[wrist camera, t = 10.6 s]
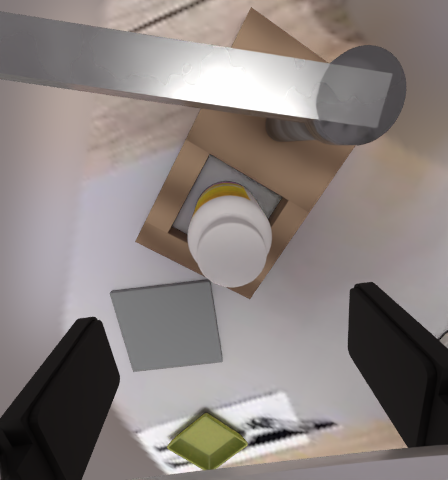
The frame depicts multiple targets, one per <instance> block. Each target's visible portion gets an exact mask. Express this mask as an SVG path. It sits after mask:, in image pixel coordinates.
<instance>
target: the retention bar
mask: <svg viewBox="0 0 448 480" xmlns="http://www.w3.org/2000/svg"><path fill="white" fill-rule="evenodd" d="M0 79H2V80H9V81H17V82H23V83H29V84H36V85H43V86H50V87H57V88H64V89H72V90H78V91H85V92H92V93H99V94H106V95H112V96H119V97H126V98H133V99H140V100H147V101H154V102H161V103H168V104H175V105H182V106H189V107H195V108H202V109H209V110H216V111H223V112H230V113H237V114H244V115H251V116H258V117H265V118H272V119H278V120H285V121H292V122H299V123H305V126H306V128H307V130H308V131H309V133H310V134H311V135H312V136H313V137H314V138H315V139H317V140H318V141H320V142H322V143H324V144H328V145H362V144H366V143H369V142H371V141H374V140H376V139H377V138H379V137H380V136H382V135H383V134H384V133H385V132H387V131H388V130H389V129H390V128H391V126H392V125H393V124H394V123H395V121H396V120H397V118H398V116H399V114H400V112H401V110H402V107H403V105H404V100H405V96H406V78H405V74H404V71H403V68H402V66H401V64H400V62H399V61H398V60H397V58H396V57H395V56H394V55H393V54H392V53H391V52H389V51H387V50H386V49H384V48H381V47H378V46H373V45H364V46H359V47H355V48H352V49H350V50H348V51H346V52H344V53H343V54H341V55H340V56H339V57H337V58H336V59H335V60H333V61H332V62H331V63H323V62H317V61H311V60H304V59H298V58H292V57H285V56H279V55H273V54H266V53H260V52H254V51H247V50H241V49H235V48H228V47H222V46H216V45H209V44H203V43H197V42H190V41H184V40H178V39H171V38H165V37H159V36H152V35H146V34H140V33H133V32H127V31H121V30H114V29H108V28H102V27H95V26H89V25H83V24H76V23H70V22H63V21H57V20H51V19H44V18H39V17H32V16H26V15H20V14H13V13H7V12H0Z"/></svg>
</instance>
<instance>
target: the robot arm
mask: <svg viewBox="0 0 448 480" xmlns="http://www.w3.org/2000/svg"><path fill="white" fill-rule="evenodd" d="M348 351H349V354H350V356H351V358H352V360H353V361H354V363H355V365H356V366H357V368H358V369H359V371H360V372H361V374H362V376H363V377H364V379H365V380H366V382H367V384H368V385H369V387H370V388H371V390H372V391H373V393H374V395H375V396H376V398H377V399H378V401H379V403H380V404H381V406H382V407H383V409H384V410H385V412H386V414H387V415H388V417H389V418H390V420H391V422H392V423H393V425H394V426H395V428H396V429H397V431H398V433H399V434H400V436H401V437H402V439H403V441H404V442H405V444H406V445H407V447H408V448H402V449H391V450H380V451H371V452H362V453H353V454H344V455H335V456H326V457H317V458H308V459H299V460H290V461H281V462H272V463H264V464H255V465H246V466H238V467H229V468H221V469H212V470H204V471H195V472H187V473H178V474H170V475H162V476H154V477H146V478H138V479H130V480H448V333H446V334H445V335H444V336H443V337H442V338H441V339H440V340H438V339H437V338H436V337H434V336H433V335H432V334H431V333H430V332H429V331H428V330H426V329H425V328H424V327H423V326H422V325H421V324H420V323H419V322H417V321H416V320H415V319H414V318H413V317H412V316H411V315H410V314H408V313H407V312H406V311H405V310H404V309H403V308H402V307H401V306H399V305H398V304H397V303H396V302H395V301H394V300H393V299H392V298H390V297H389V296H388V295H387V294H386V293H385V292H384V291H382V290H381V289H380V288H379V287H378V286H377V285H376V284H375V283H373V282H368V283H360V284H356V285H355V286H354V288H352V289H351V290H350V301H349V327H348ZM119 382H120V375H119V372H118V369H117V366H116V363H115V360H114V357H113V354H112V351H111V348H110V345H109V342H108V339H107V336H106V333H105V330H104V327H103V324H102V322H101V320H97V318H96V317H88V318H80V319H77V320H76V321H75V323H74V324H73V325H72V327H71V328H70V329H69V330H68V332H67V333H66V334H65V336H64V337H63V338H62V339H61V341H60V342H59V343H58V345H57V346H56V347H55V348H54V350H53V351H52V352H51V354H50V355H49V356H48V357H47V359H46V360H45V361H44V363H43V364H42V365H41V366H40V368H39V369H38V370H37V372H36V373H35V374H34V376H33V377H32V378H31V379H30V381H29V382H28V383H27V384H26V386H25V387H24V388H23V390H22V391H21V392H20V393H19V395H18V396H17V397H16V399H15V400H14V401H13V402H12V404H11V405H10V406H9V408H8V409H7V410H6V411H5V413H4V414H3V415H2V417H1V418H0V480H82V477H83V475H84V472H85V470H86V467H87V464H88V462H89V459H90V457H91V454H92V452H93V449H94V447H95V444H96V442H97V439H98V437H99V434H100V432H101V429H102V427H103V424H104V421H105V419H106V417H107V414H108V411H109V409H110V406H111V404H112V401H113V399H114V396H115V394H116V391H117V389H118V386H119Z"/></svg>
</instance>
